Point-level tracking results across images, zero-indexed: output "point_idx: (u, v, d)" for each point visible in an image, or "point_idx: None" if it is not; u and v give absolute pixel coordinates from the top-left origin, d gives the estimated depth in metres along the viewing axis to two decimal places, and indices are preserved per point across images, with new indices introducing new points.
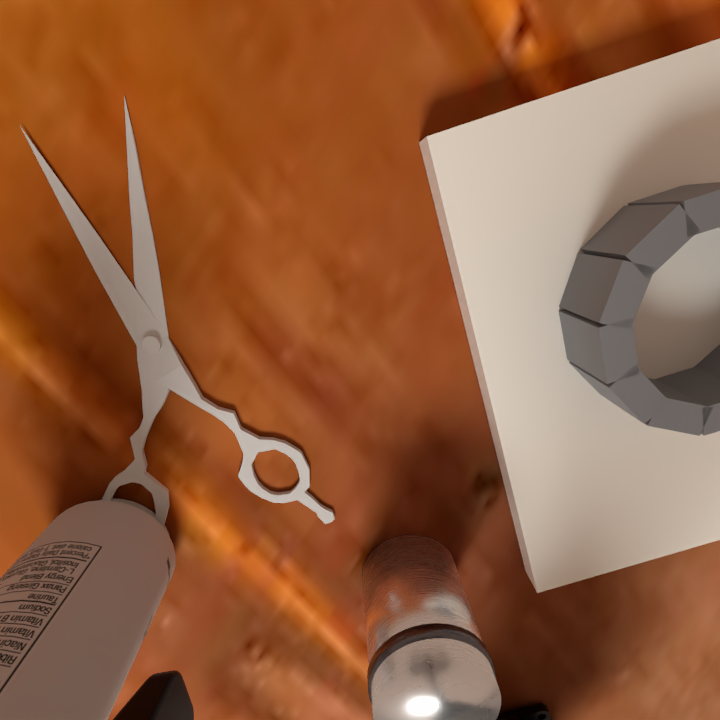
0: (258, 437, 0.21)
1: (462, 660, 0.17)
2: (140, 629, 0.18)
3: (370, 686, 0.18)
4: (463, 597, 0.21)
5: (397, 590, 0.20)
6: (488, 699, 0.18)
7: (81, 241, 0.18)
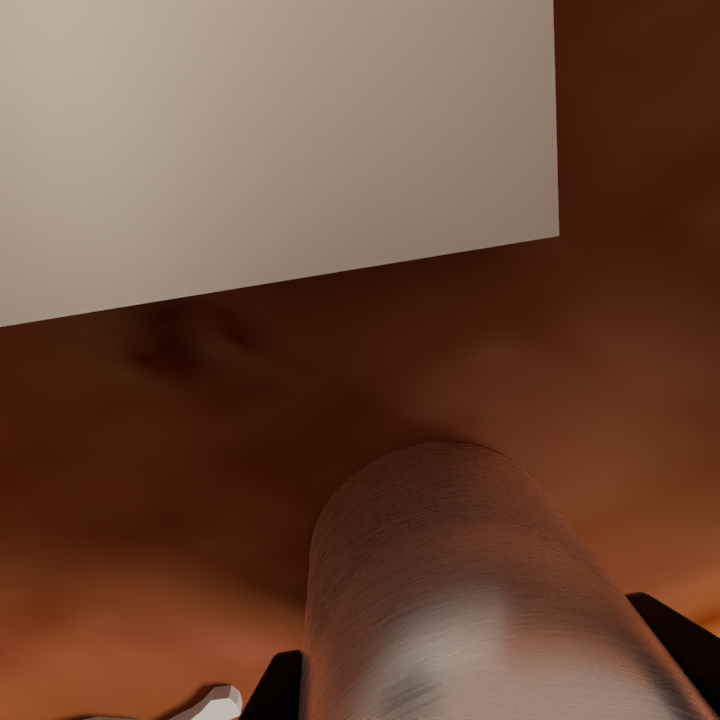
0: None
1: None
2: None
3: None
4: (395, 595, 0.06)
5: None
6: None
7: None
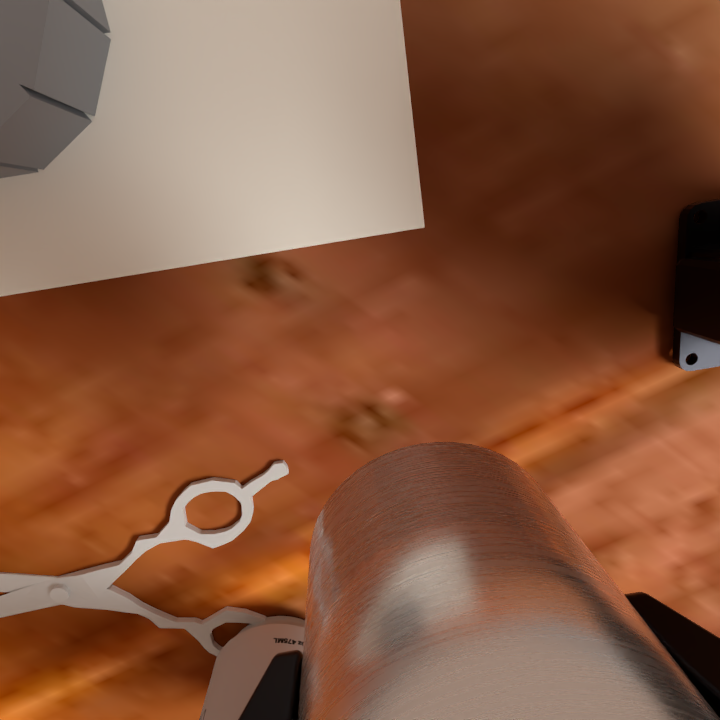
0: (169, 521, 0.20)
1: None
2: None
3: None
4: (395, 595, 0.06)
5: None
6: None
7: None
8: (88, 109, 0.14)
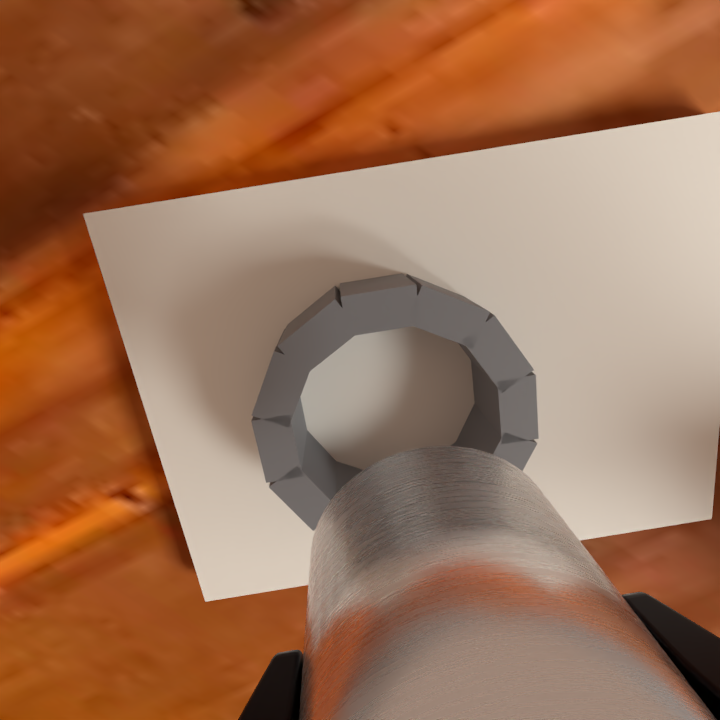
0: None
1: None
2: None
3: None
4: (396, 601, 0.06)
5: None
6: None
7: None
8: None
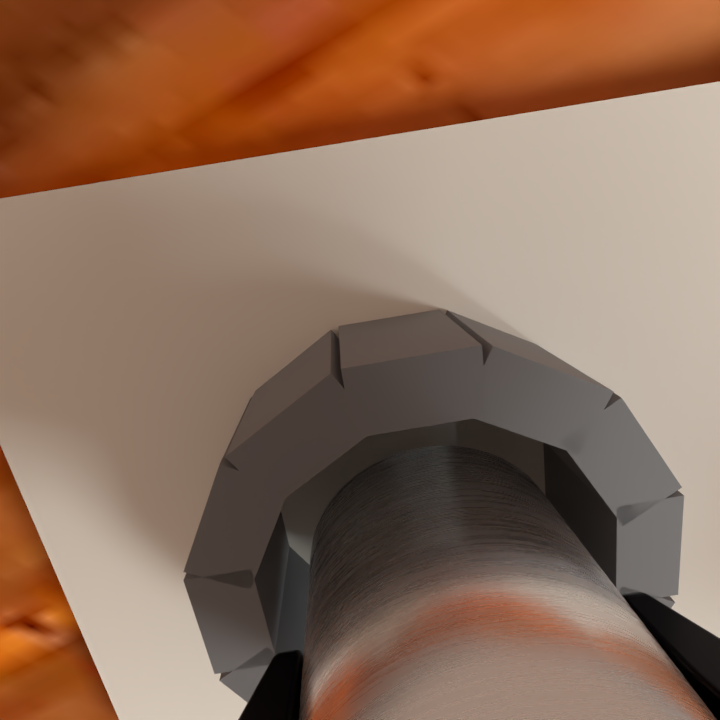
0: None
1: None
2: None
3: None
4: (396, 601, 0.06)
5: None
6: None
7: None
8: None
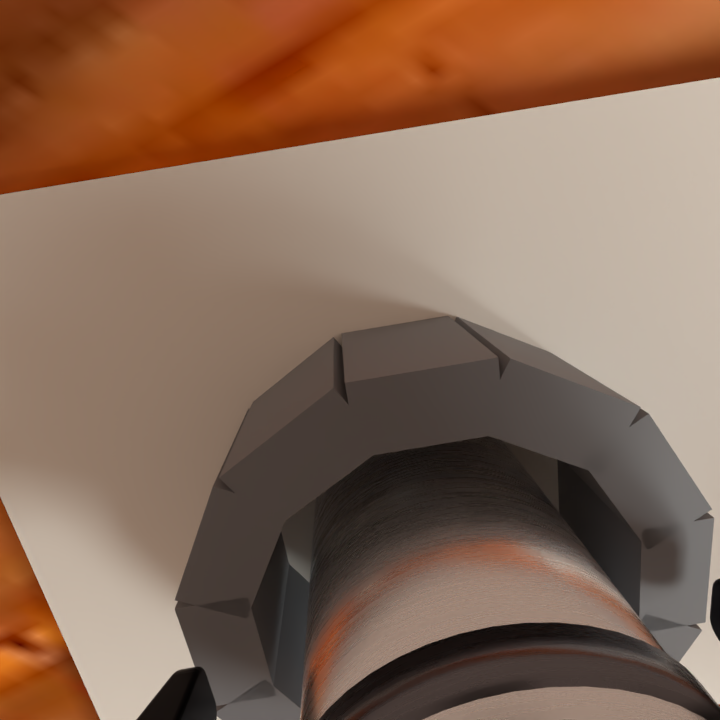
0: None
1: None
2: None
3: None
4: (384, 524, 0.07)
5: None
6: None
7: None
8: None
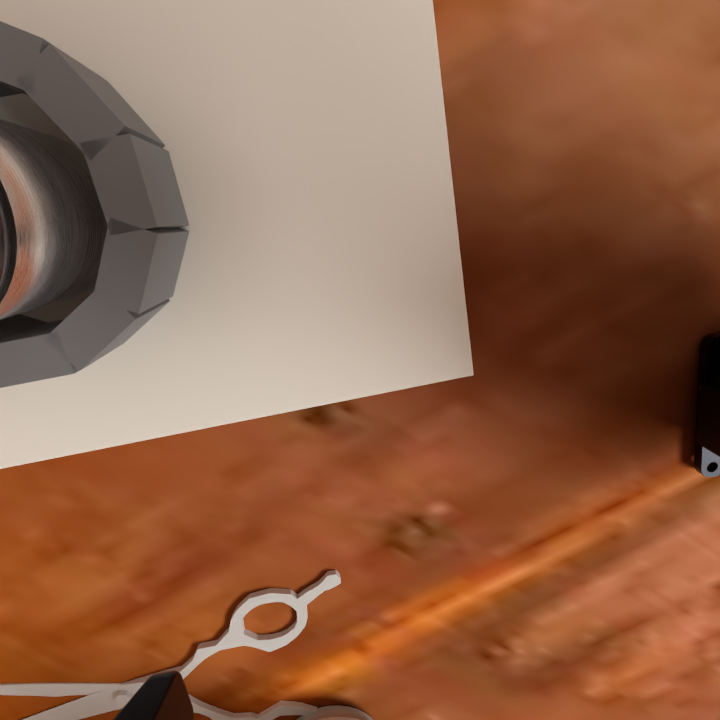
0: (228, 630, 0.21)
1: None
2: None
3: None
4: None
5: None
6: None
7: None
8: (169, 295, 0.15)
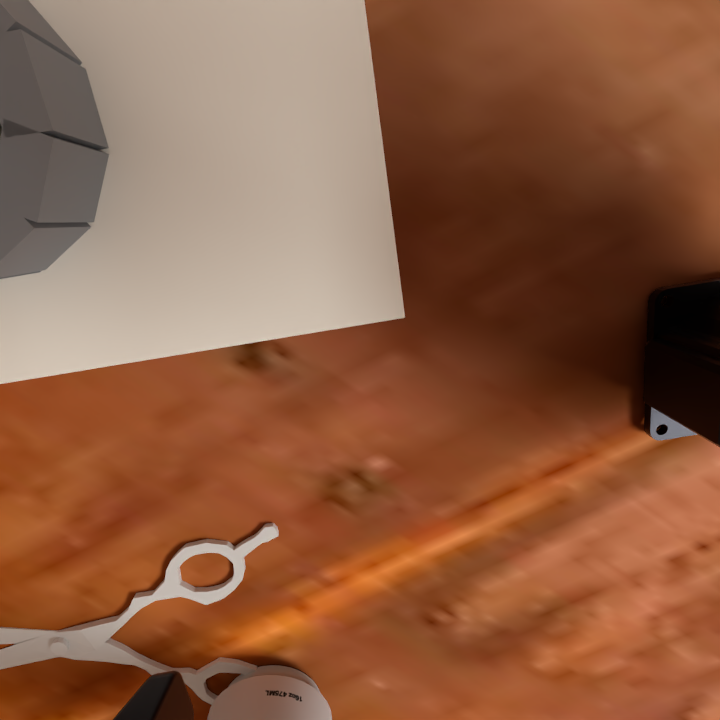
0: (164, 580, 0.21)
1: None
2: None
3: None
4: None
5: None
6: None
7: None
8: (87, 219, 0.15)
